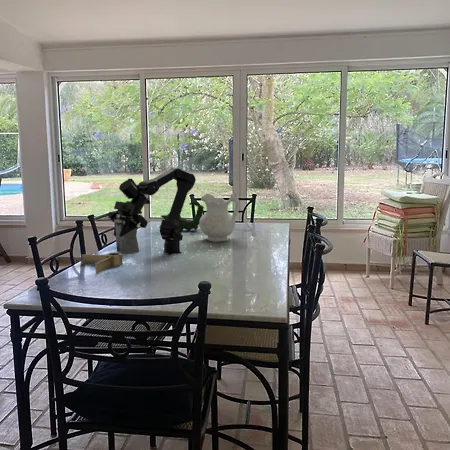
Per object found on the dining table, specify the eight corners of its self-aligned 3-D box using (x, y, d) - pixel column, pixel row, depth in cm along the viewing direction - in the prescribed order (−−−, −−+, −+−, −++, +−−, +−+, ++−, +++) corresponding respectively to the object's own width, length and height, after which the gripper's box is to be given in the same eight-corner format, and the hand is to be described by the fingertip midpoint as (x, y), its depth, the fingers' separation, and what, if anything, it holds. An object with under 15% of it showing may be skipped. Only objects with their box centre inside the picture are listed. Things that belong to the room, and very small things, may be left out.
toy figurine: (202, 232, 273) (161, 228, 273) (205, 200, 269) (163, 197, 270) (200, 235, 263) (158, 231, 264) (203, 202, 260) (160, 198, 261)
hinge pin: (123, 249, 190) (121, 218, 187) (126, 251, 187) (125, 220, 184) (114, 250, 188) (112, 219, 185) (117, 252, 185) (116, 221, 182)
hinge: (113, 259, 201) (113, 249, 201) (129, 268, 186) (129, 257, 185) (82, 263, 194) (81, 253, 193) (96, 273, 179) (95, 262, 178)
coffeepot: (144, 252, 214) (143, 214, 211) (125, 255, 209) (124, 216, 206) (132, 246, 226) (130, 210, 223) (113, 248, 221) (112, 212, 218)
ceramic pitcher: (241, 238, 250) (241, 193, 248) (238, 243, 231) (238, 194, 229) (202, 238, 253) (202, 193, 250) (196, 242, 233) (196, 194, 231)
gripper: (109, 192, 192) (90, 222, 185) (141, 195, 181) (121, 226, 174) (124, 208, 199) (106, 237, 192) (155, 212, 189) (137, 242, 182)
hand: (117, 235), depth 185 cm, fingers closed on hinge pin, 3 cm apart
